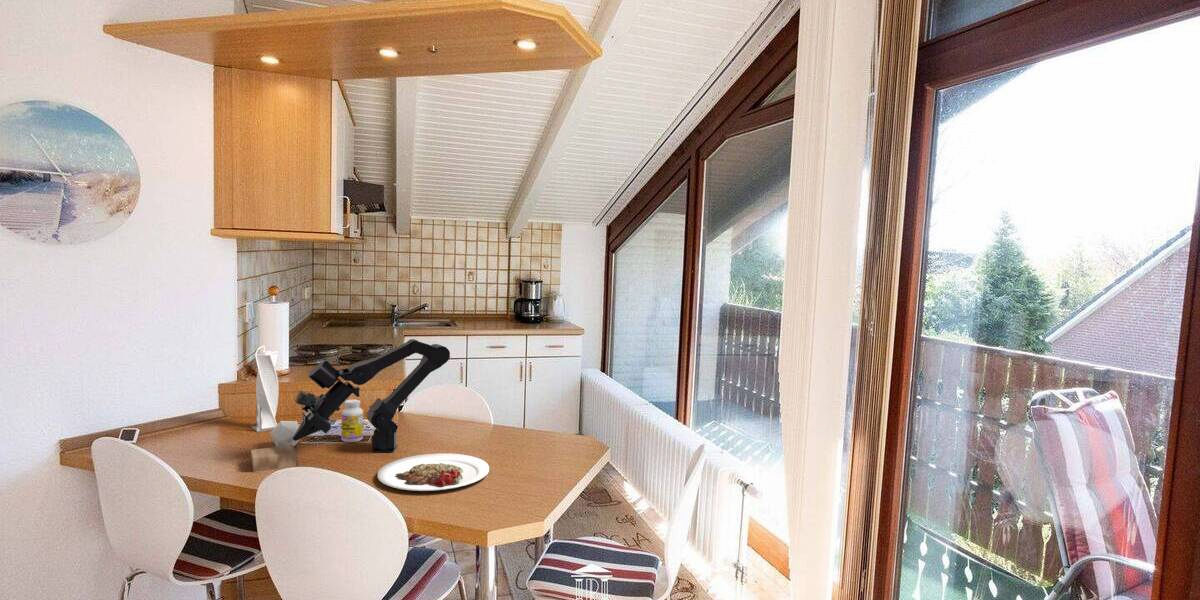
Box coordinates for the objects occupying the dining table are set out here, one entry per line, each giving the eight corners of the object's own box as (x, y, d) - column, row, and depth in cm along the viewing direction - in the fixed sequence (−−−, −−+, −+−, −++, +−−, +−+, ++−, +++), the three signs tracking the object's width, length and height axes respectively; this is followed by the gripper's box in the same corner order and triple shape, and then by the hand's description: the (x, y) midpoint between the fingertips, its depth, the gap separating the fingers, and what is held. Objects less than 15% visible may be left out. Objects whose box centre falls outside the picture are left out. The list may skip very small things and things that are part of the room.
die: (281, 454, 197) (302, 427, 200) (259, 438, 198) (280, 412, 201) (292, 456, 205) (312, 430, 208) (271, 440, 206) (291, 415, 209)
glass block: (293, 444, 192) (251, 449, 186) (297, 453, 185) (253, 458, 179) (293, 458, 193) (251, 463, 187) (297, 466, 185) (253, 472, 179)
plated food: (422, 454, 199) (422, 443, 199) (508, 468, 189) (508, 456, 188) (352, 485, 171) (352, 473, 171) (448, 504, 161) (449, 490, 160)
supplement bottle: (337, 441, 209) (336, 402, 209) (349, 436, 216) (349, 398, 215) (355, 443, 208) (355, 404, 207) (367, 438, 214) (367, 399, 213)
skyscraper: (250, 426, 224) (249, 346, 222) (275, 423, 230) (274, 344, 228) (257, 432, 218) (256, 349, 216) (282, 428, 223) (282, 347, 222)
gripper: (308, 375, 198) (268, 415, 193) (318, 387, 182) (274, 430, 177) (336, 398, 202) (297, 438, 197) (347, 411, 186) (306, 454, 181)
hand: (293, 439), depth 188 cm, fingers closed
